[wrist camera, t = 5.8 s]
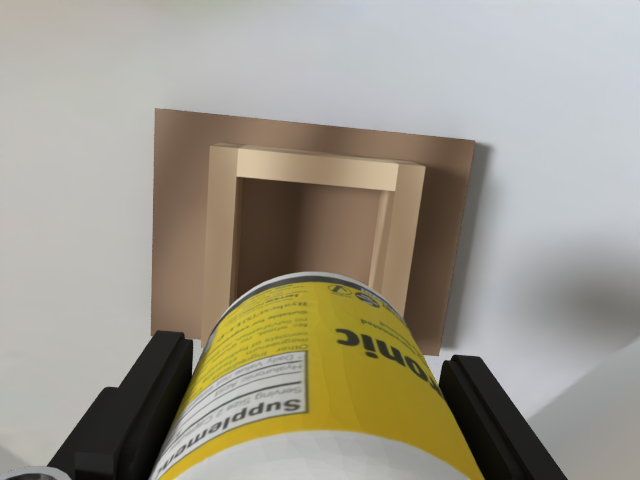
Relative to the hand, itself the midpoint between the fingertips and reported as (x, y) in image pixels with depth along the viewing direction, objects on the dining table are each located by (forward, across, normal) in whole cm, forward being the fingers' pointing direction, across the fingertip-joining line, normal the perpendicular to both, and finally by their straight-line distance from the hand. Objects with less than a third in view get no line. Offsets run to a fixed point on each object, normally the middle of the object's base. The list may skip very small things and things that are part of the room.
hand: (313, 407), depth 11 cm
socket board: (+17, 0, 0) cm, 17 cm away
